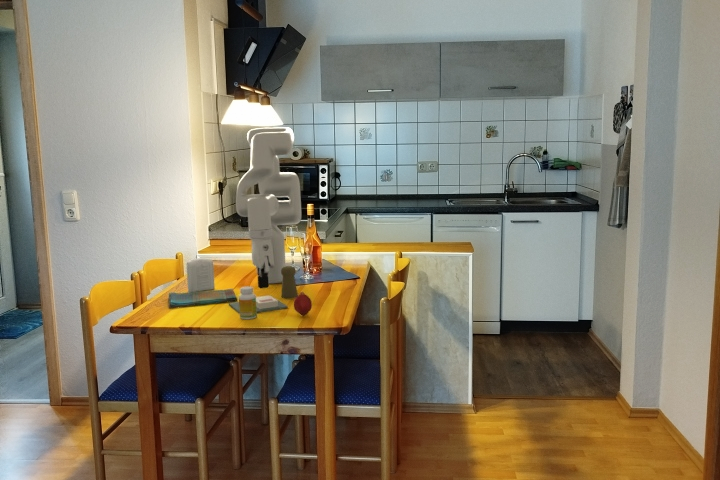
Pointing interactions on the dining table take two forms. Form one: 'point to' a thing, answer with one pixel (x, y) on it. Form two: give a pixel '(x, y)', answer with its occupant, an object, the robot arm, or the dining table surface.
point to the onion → (302, 304)
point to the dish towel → (201, 298)
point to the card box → (266, 302)
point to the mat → (236, 307)
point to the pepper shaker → (288, 283)
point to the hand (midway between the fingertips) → (263, 287)
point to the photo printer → (200, 274)
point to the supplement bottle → (247, 303)
